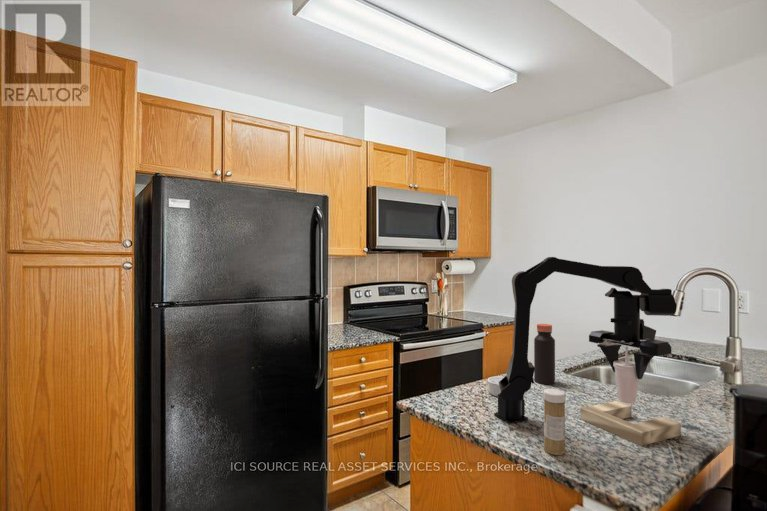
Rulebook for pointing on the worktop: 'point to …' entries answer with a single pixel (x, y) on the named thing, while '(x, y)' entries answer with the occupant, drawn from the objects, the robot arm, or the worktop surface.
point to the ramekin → (494, 385)
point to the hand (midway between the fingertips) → (627, 375)
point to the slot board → (639, 433)
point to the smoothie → (626, 379)
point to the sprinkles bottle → (554, 421)
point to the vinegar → (544, 355)
